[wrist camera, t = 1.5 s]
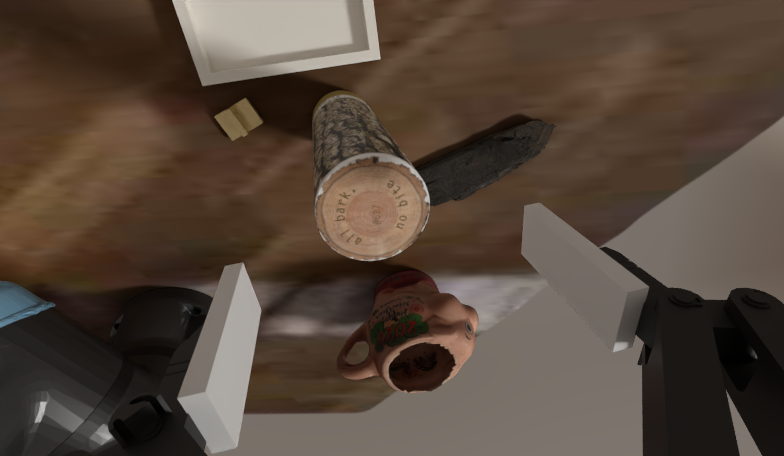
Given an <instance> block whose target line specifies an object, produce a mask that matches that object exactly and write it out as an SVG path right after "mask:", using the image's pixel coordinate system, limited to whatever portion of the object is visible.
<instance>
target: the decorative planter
mask: <svg viewBox="0 0 784 456" xmlns="http://www.w3.org/2000/svg"><path fill="white" fill-rule="evenodd" d="M477 327H478V314H477V312H476V310H475V309H474V308H473V307H471V306H468V305H464V304H461V303H460V301H459V300H458V299H457V298H456V297H455V296H453V295H452V294H449V293H439V290H438V288H437V286H436V284H435V282H434V281H433V279H432V278H431V277H430V276H428V275H427V274H425V273H423V272H420V271H415V270H407V271H402V272H398V273H395V274H393V275H391V276H389V277H387V278H385V279H384V280H382V281H381V282H380V283H379V284H378V286H377V287H376V289H375V292H374V307H373V310H372V312H371V315H370V317H369V320H368V321H366V322H365V323H364V324H363V325H362V326H360V327H359V328H358V329H357V330H356V331H355V332H354V333H353V334H352V335H351V337H350V338H349V339H348V340H347V341H346V343H345V345H344V347H343V348H342V350H341V352H340V354H339V356H338V357H337V369H338V371H339V373H340V374H341V375H342V376H343V377H345V378H348V379H363V378H367V377H371V376H375V375H376V376H380V377H382V378H383V379H384V380H385V381H386V382H387V384H388V385H390V386H391V387H392V388H393V389H395V390H397V391H401V392H405V393H419V392H425V391H432V390H434V389H436V388H437V387H439V386H441V385H442V384H444V383H445V382H446V381H448V380H449V379H451V378H453V377H454V376H455V375H456V374H457V372H458V371H459V369H460V368H461V366H462V365H463V363H464V362H465V361H466V360H467V359H468V358H469V357H470V356H471V354H472V353H473V350H474V347H475V340H476V339H475V335H474V332H475V331H476V329H477ZM361 341H365V342H367V343H368V344H369V354H368V356H367V358H366V359H365V361H363V362H362V363H359V364H356V365H351V364H349V363H348V362H347V361H346V357H347V354H348V353H349V351H350V350H351V348H352V347H353V345H354V344H355V343H356V342H361Z"/></svg>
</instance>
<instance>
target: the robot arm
mask: <svg viewBox="0 0 784 456" xmlns="http://www.w3.org/2000/svg"><path fill="white" fill-rule="evenodd" d="M521 254H522V255H523V256H524V257H525V258H526V259H527V260H528V262H529V263H530V264H531V265H532V266H533V267H534V268H535V269H536V270H537V271H538V272H539V273H540V274H541V276H542V277H543V278H544V279H545V280H546V281H547V282H548V283H549V284H550V285H551V286H552V287H553V288H554V290H555V291H556V292H557V293H558V294H559V295H560V296H561V297H562V298H563V299H564V300H565V301H566V302H567V303H568V304H569V306H570V307H571V308H572V309H573V310H574V311H575V312H576V313H577V314H578V315H579V316H580V317H581V318H582V320H583V321H584V322H585V323H586V324H587V325H588V326H589V327H590V328H591V329H592V330H593V331H594V333H595V334H596V335H597V336H598V337H599V338H600V339H601V340H602V341H603V342H604V343H605V344H606V345H607V346H608V348H609V349H610V350H611V351H612V352H615V351H619V350H623V349H627V348H631V347H632V346H633V342H634V339H635V335H637V336H638V337H639V338H640V339H641V340H642V341H643V342H644V345H643V348H642V351H641V354H640V358H639V361H638V365H642V406H643V407H642V408H643V409H642V410H643V411H642V414H643V456H740V455H739V450H738V445H737V440H736V436H735V431H734V426H733V422H732V417H731V412H730V408H729V403H728V398H727V393H726V390H727V392H728V394H729V396H730V398H731V399H732V401H733V403H734V405H735V407H736V409H737V411H738V412H739V414H740V416H741V418H742V419H743V421H744V423H745V425H746V427H747V429H748V431H749V432H750V434H751V436H752V438H753V440H754V441H755V443H756V445H757V447H758V449H759V451H760V452H761V454H762V456H784V304H783V303H782V302H781V301H779V300H778V299H777V298H775V297H773V296H772V295H770V294H767V293H766V292H763V291H760V290H756V289H750V288H736V289H734V290H732V291H731V293H730V294H729V297H728V299H727V300H704V299H702V298H701V297H700V296H699V295H697V294H695V293H693V292H691V291H688V290H684V289H681V288H667V287H666V286H665V285H663V284H662V283H660V282H659V281H657V280H656V279H655V278H653V277H652V276H651V275H649V274H648V273H647V272H645V271H644V270H643V269H641V268H638V266H637V265H636V264H634V263H633V262H630V261H629V259H628V258H626V257H625V256H623V255H622V254H621V253H619V252H617V251H615V250H612V249H609V248H607V247H603V248H598V247H597V246H595V245H594V244H593V243H591V242H590V241H589V240H587V239H586V238H585V237H584V236H582V235H581V234H580V233H578V232H577V231H576V230H574V229H573V228H572V227H571V226H569V225H568V224H567V223H565V222H564V221H563V220H561V219H560V218H559V217H558V216H556V215H555V214H554V213H552V212H551V211H550V210H548V209H547V208H546V207H544V206H543V205H542V204H541V203H535V204H531V205H526V206H524V221H523V236H522V251H521ZM260 315H261V308H260V305H259V303H258V300H257V297H256V295H255V292H254V290H253V287H252V285H251V282H250V279H249V277H248V274H247V272H246V269H245V267H244V264H243V263H238V264H233V265H228V266H225V267H224V270H223V273H222V276H221V278H220V281H219V284H218V287H217V290H216V292H215V295H214V298H211V297H210V296H207V295H205V294H203V293H200V292H197V291H193V290H189V289H181V288H163V289H157V290H152V291H149V292H146V293H143V294H141V295H139V296H137V297H135V298H134V299H132V300H131V301H129V302H128V303H127V304H126V305H125V306H124V307H123V309H122V310H121V312H120V313H119V315H118V316H117V318H116V319H115V321H114V323H113V325H112V328H111V331H110V338H109V344H107V343H106V342H105V341H103V340H102V339H100V338H99V337H97V336H96V335H95V334H93V333H92V332H90V331H89V330H87V329H86V328H85V327H83V326H82V325H80V324H79V323H78V322H76V321H75V320H73V319H72V318H70V317H69V316H68V315H66V314H65V313H63V312H62V311H60V310H59V309H58V308H56V307H55V304H54V303H52V302H46V301H44V300H43V299H41V298H39V297H38V296H36V295H35V294H33V293H31V292H30V291H28V290H26V289H25V288H23V287H22V286H20V285H18V284H16V283H13V282H8V281H0V456H207V455H206V453H205V452H204V449H205V445H206V444H207V446H208V448H209V449H210V451H211V452H212V454H214V453H217V452H221V451H225V450H229V449H233V448H237V446H238V439H239V434H240V429H241V423H242V417H243V411H244V406H245V400H246V394H247V389H248V383H249V377H250V372H251V366H252V360H253V355H254V349H255V343H256V338H257V332H258V326H259V321H260Z"/></svg>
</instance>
